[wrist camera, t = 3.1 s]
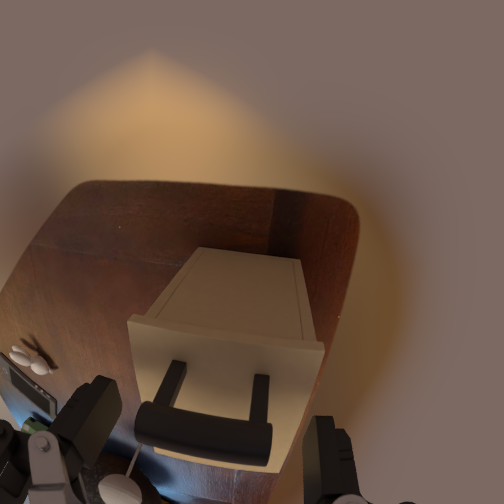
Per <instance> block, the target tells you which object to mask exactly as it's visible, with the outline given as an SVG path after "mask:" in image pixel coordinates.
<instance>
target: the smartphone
mask: <svg viewBox="0 0 504 504" xmlns="http://www.w3.org/2000/svg"><path fill="white" fill-rule="evenodd" d="M0 367H1V372H2V376H3V377H4V378H5V379H6V380H7V381H8V382H9V383H10V384H11V385H12V386H13V387H15V388H16V389H17V390H18V391H19V392H20V393H21V394H22V395H24V396H25V397H26V398H27V399H28V400H29V401H31V402H32V403H33V404H34V405H35V406H37V407H38V408H39V409H40V410H42V411H43V412H44V413H46V414H47V415H48V416H50V417H51V418H52V419H54V420H55V418H56V417H57V414H56V411H57V401H56V400H55V399H54V398H52V397H51V396H50V395H48V394H47V393H46V392H45V391H43V390H42V389H41V388H40V387H38V386H37V385H36V384H35V383H34V382H32V381H31V380H30V379H29V378H28V377H27V376H25V375H24V374H23V373H22V372H21V371H20V370H19V369H18V368H16V367H15V366H14V365H13V364H12V363H11V362H10V361H9V360H8V359H7V358H6V357H5V356H4V355H3V354H2V353H0Z"/></svg>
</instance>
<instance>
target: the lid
mask: <svg viewBox="0 0 504 504" xmlns="http://www.w3.org/2000/svg"><path fill="white" fill-rule="evenodd" d="M127 323H128V330H129V337H130V344H131V350H132V356H133V362H134V368H135V373H136V378H137V383H138V388H139V392H140V397H141V401H142V404H141V406H140V408H139V410H138V412H137V415H136V419H135V426H134V434H135V438H136V440H137V441H138V442H140V443H143V444H146V445H149V446H153V447H154V451H155V452H156V453H159V454H163V455H167V456H170V457H174V458H179V459H183V460H187V461H192V462H197V463H202V464H207V465H213V466H219V467H225V468H232V469H239V470H248V471H257V472H270V473H279V472H280V469H281V467H282V465H283V463H284V461H285V458H286V456H287V454H288V451H289V449H290V447H291V444H292V442H293V439H294V437H295V435H296V432H297V430H298V427H299V424H300V422H301V419H302V417H303V414H304V411H305V409H306V406H307V403H308V401H309V398H310V395H311V392H312V390H313V387H314V384H315V381H316V378H317V375H318V372H319V369H320V366H321V363H322V360H323V357H324V353H325V348H324V343H323V342H316V341H305V340H294V339H285V338H276V337H267V336H259V335H251V334H244V333H237V332H230V331H223V330H217V329H210V328H204V327H198V326H193V325H187V324H181V323H176V322H171V321H166V320H161V319H156V318H151V317H146V316H141V315H137V314H133V315H132V316H131V317H130V318H129V319H128V321H127Z"/></svg>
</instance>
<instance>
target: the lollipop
mask: <svg viewBox="0 0 504 504" xmlns="http://www.w3.org/2000/svg"><path fill="white" fill-rule="evenodd" d="M142 444H143V443H139V445H138V447H137V450H136V452H135V454H134V457H133V459H132V461H131V464H130V466H129V469H128V471H127V473H126V476H124V475H121V474H111V475H108V476H106V477H105V478H104V479H102V480H101V481H100V482H99V485H98V487H99V492H100V496H101V498H102V499H103V501H104V502H105V503H106V504H141V502H142V494H141V490H140V488H139V486H138V485H137V484H136V483H135V482H134V481H133V480H132V479H131V478H129V475H130V472H131V470H132V467H133V465H134V463H135V460H136V458H137V455H138V453H139V451H140V448H141V446H142Z"/></svg>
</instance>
